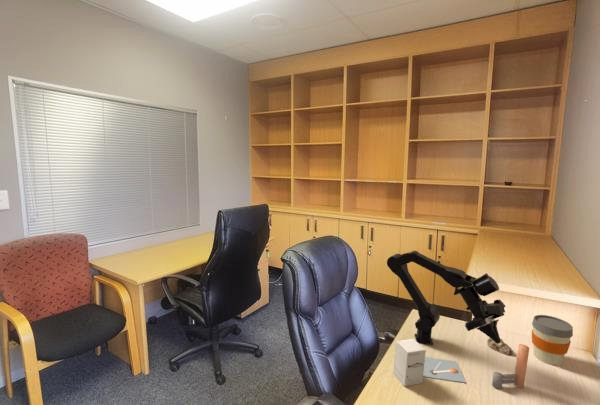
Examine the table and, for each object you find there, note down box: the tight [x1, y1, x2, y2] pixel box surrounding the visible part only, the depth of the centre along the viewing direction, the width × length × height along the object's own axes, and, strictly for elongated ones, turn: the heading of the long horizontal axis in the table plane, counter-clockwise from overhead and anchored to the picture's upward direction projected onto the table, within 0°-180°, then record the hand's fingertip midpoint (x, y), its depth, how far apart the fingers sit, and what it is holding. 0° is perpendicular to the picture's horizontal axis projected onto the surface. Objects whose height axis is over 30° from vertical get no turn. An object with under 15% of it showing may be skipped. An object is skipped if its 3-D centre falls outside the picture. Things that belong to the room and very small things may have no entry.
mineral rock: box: [486, 337, 514, 356], centre depth 134 cm, size 11×4×8 cm
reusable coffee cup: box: [531, 314, 574, 366], centre depth 127 cm, size 13×13×15 cm
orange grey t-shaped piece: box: [491, 343, 530, 390], centre depth 110 cm, size 11×3×14 cm, turn 95°
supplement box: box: [392, 338, 427, 387], centre depth 113 cm, size 7×7×13 cm
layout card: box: [423, 356, 467, 384], centre depth 119 cm, size 12×14×1 cm
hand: (499, 343), depth 117 cm, fingers closed
